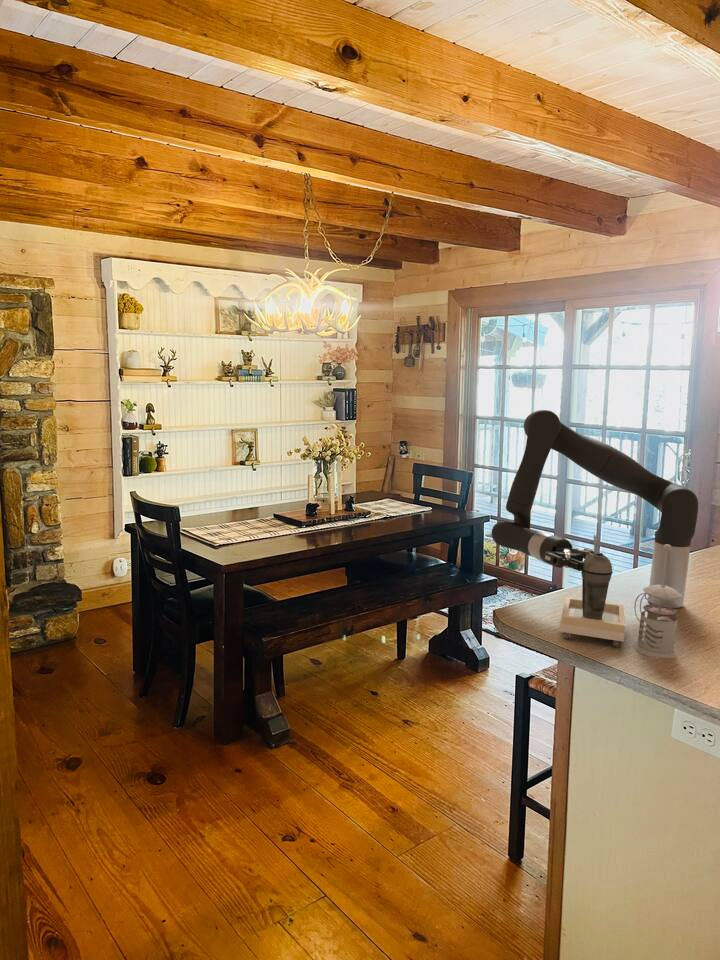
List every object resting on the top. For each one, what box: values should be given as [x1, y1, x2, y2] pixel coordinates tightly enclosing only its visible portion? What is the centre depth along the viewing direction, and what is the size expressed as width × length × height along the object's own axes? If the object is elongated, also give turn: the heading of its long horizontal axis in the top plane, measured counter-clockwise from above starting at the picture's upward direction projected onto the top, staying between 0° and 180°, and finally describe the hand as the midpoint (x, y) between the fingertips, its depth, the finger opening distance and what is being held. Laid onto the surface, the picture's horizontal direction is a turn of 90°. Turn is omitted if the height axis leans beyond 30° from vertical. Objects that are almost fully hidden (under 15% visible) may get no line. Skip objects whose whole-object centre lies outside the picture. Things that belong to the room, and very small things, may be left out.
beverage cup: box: [580, 535, 613, 620], centre depth 170 cm, size 7×7×20 cm
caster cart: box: [559, 596, 626, 648], centre depth 171 cm, size 16×14×6 cm
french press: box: [632, 544, 681, 659], centre depth 162 cm, size 10×12×25 cm
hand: (595, 565), depth 170 cm, fingers open, 8 cm apart
